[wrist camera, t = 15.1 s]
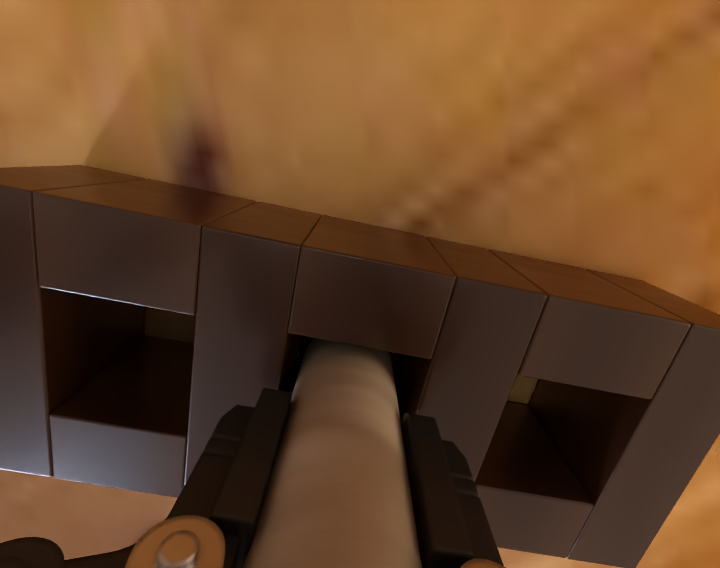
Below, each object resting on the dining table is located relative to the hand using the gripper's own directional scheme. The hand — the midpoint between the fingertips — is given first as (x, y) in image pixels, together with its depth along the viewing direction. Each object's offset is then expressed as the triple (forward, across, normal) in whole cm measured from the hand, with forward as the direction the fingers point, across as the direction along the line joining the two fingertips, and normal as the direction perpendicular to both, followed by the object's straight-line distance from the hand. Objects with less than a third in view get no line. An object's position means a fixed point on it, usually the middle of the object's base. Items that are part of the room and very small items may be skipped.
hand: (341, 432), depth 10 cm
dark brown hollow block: (+6, 0, 0) cm, 6 cm away
